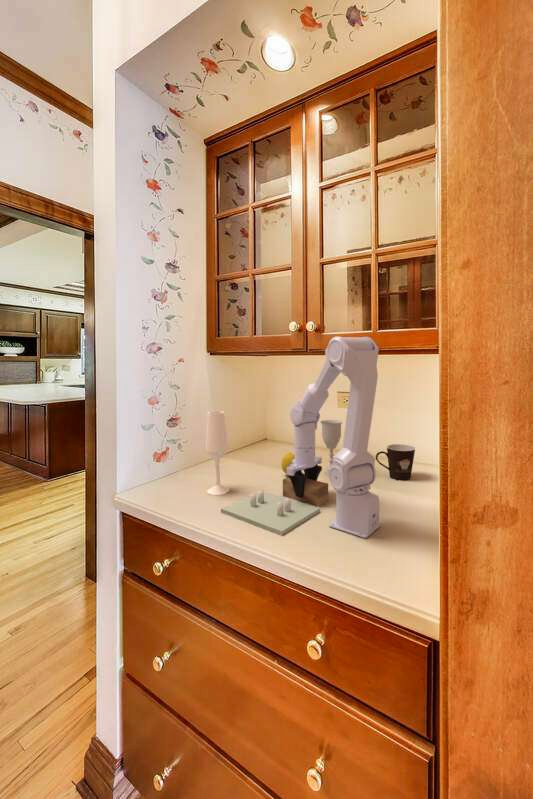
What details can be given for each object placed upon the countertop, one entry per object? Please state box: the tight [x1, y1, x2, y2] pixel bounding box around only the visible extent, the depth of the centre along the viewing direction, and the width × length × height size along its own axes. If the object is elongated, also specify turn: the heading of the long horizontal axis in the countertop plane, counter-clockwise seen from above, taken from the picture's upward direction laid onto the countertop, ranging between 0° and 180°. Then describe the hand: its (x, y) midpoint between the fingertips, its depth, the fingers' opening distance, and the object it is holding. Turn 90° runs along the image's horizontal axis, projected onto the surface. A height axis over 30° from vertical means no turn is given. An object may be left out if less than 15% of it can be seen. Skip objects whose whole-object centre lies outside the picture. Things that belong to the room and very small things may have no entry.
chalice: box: [319, 419, 343, 477], centre depth 123 cm, size 7×7×18 cm
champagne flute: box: [205, 410, 230, 496], centre depth 109 cm, size 7×7×24 cm
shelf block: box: [282, 476, 329, 507], centre depth 103 cm, size 12×5×5 cm, turn 50°
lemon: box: [281, 452, 295, 475], centre depth 123 cm, size 6×6×8 cm
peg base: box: [220, 490, 321, 536], centre depth 95 cm, size 20×16×4 cm
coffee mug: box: [375, 443, 416, 482], centre depth 120 cm, size 12×9×10 cm
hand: (305, 493), depth 104 cm, fingers closed on shelf block, 5 cm apart
